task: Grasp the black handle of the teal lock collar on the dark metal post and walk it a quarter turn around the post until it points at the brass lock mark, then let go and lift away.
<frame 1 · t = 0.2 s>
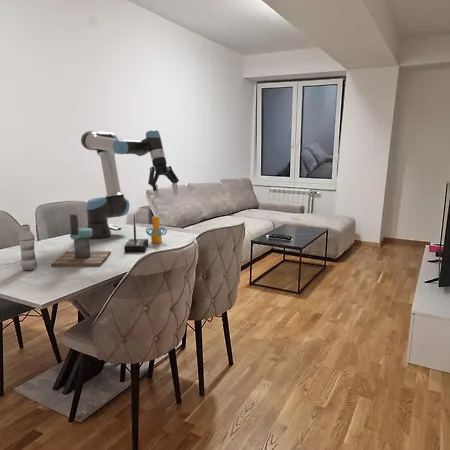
hand: (167, 195, 214), 28 cm above the table, tool tilted 20°, fingers open, 13 cm apart
cylinder: (156, 242, 227), on the table
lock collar: (78, 225, 182), point 18 cm above the table, hinge at 0.0°
wireless controller: (137, 248, 213), on the table
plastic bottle: (29, 270, 173), on the table
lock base: (82, 259, 189), on the table
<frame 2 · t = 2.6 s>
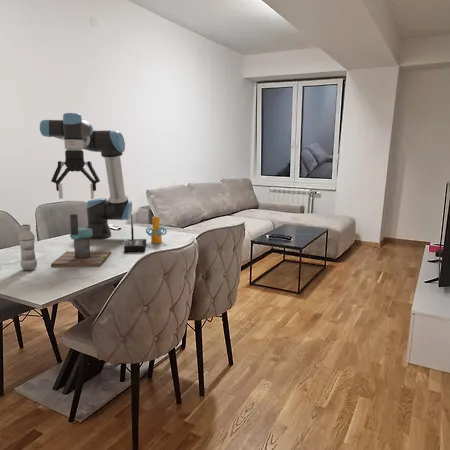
hand: (76, 198, 174), 31 cm above the table, tool pointing down, fingers open, 13 cm apart
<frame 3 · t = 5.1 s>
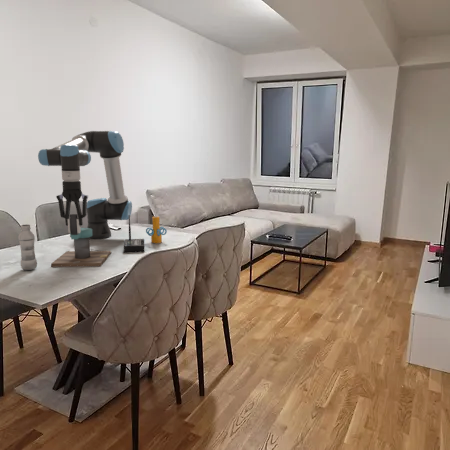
hand: (74, 232, 176), 16 cm above the table, tool pointing down, fingers closed on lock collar, 3 cm apart
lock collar: (78, 225, 182), point 18 cm above the table, hinge at 0.0°, touching gripper
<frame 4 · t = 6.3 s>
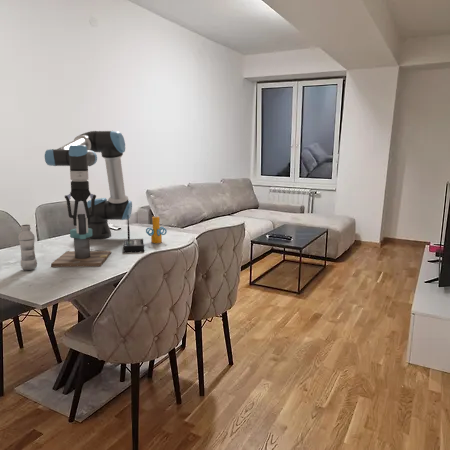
hand: (82, 232, 177), 16 cm above the table, tool pointing down, fingers closed on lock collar, 3 cm apart
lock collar: (81, 224, 182), point 18 cm above the table, hinge at 18.8°, touching gripper
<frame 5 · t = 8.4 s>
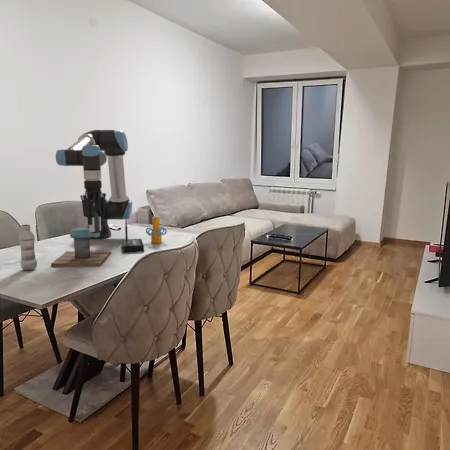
hand: (95, 230, 181), 16 cm above the table, tool pointing down, fingers closed on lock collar, 3 cm apart
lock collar: (85, 224, 184), point 18 cm above the table, hinge at 54.0°, touching gripper
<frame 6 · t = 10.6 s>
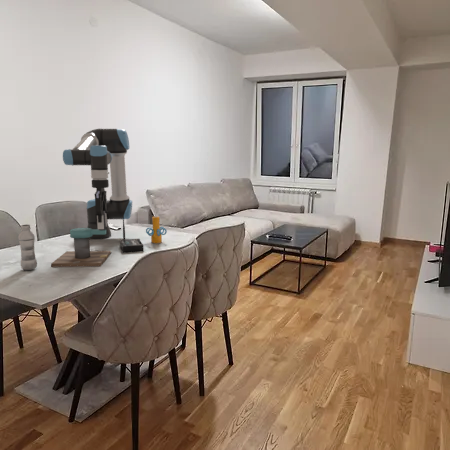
hand: (102, 227, 187), 16 cm above the table, tool pointing down, fingers open, 6 cm apart
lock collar: (87, 223, 186), point 18 cm above the table, hinge at 89.2°
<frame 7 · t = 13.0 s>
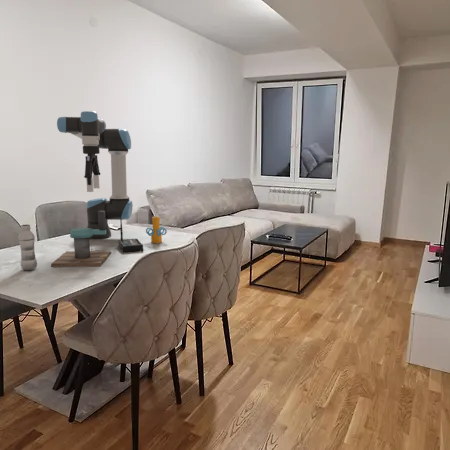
hand: (93, 190, 189), 33 cm above the table, tool pointing down, fingers open, 13 cm apart
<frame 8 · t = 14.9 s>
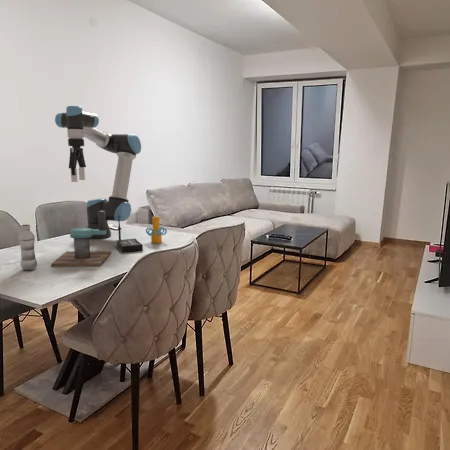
hand: (78, 180, 199), 37 cm above the table, tool pointing down, fingers open, 13 cm apart
at the end: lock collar at +89° (first picture: +0°); the gripper is holding nothing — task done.
